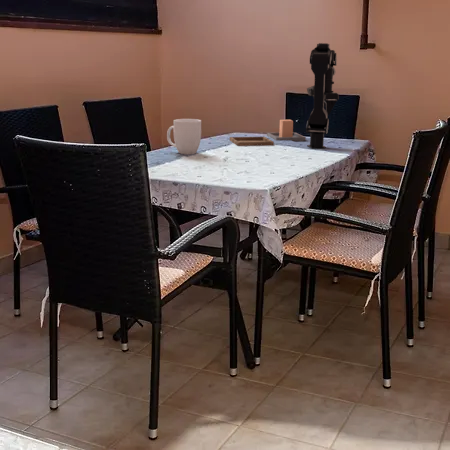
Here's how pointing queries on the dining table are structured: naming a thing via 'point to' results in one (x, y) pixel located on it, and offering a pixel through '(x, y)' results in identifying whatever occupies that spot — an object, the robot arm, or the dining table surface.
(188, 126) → the mug
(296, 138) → the tray
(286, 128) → the block
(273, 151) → the dining table surface
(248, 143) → the dish
